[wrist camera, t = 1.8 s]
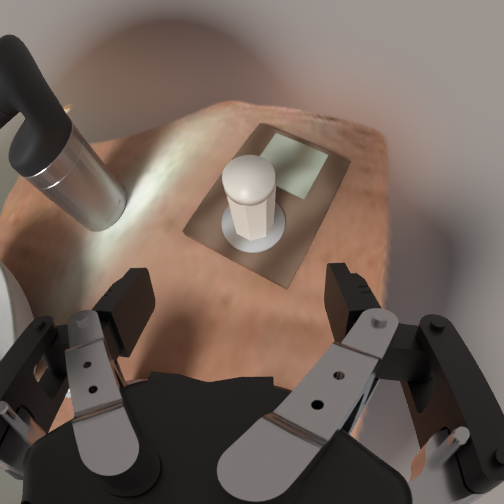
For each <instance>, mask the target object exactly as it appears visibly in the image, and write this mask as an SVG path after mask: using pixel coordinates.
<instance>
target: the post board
mask: <svg viewBox="0 0 504 504" xmlns="http://www.w3.org/2000/svg"><path fill="white" fill-rule="evenodd" d="M243 155H256V156H260V157H262V158H264V159H266V160H267V161H268V162H269V163H270V164H271V165H272V166H273V168H274V171H275V185H276V193H275V211H274V224H273V226H272V227H271V229H270V231H269V232H268V234H267V236H266V237H262V238H259V239H255V240H252V241H250V240H248V239H246V238H244V237H242V236H240V235H238V234H237V233H236V229H235V226H234V222H233V219H232V215H231V211H230V207H229V203H228V199H227V195H226V193H225V190H224V186H223V182H222V174H221V175H220V177H219V178H218V180H217V181H216V182H215V184H214V185H213V187H212V188H211V190H210V191H209V192H208V194H207V195H206V197H205V198H204V200H203V201H202V202H201V204H200V205H199V207H198V208H197V210H196V211H195V213H194V214H193V216H192V217H191V219H190V220H189V222H188V223H187V225H186V226H185V228H184V229H183V232H184V234H185V235H186V236H188V237H190V238H192V239H194V240H195V241H197V242H199V243H201V244H203V245H205V246H206V247H208V248H210V249H212V250H214V251H216V252H217V253H219V254H221V255H223V256H225V257H227V258H229V259H230V260H232V261H234V262H236V263H238V264H240V265H242V266H243V267H245V268H247V269H249V270H251V271H253V272H255V273H257V274H258V275H260V276H262V277H264V278H266V279H268V280H270V281H272V282H274V283H275V284H277V285H279V286H281V287H283V288H285V289H288V287H289V285H290V283H291V281H292V279H293V277H294V276H295V274H296V272H297V270H298V268H299V266H300V264H301V262H302V260H303V258H304V256H305V255H306V253H307V251H308V249H309V247H310V245H311V243H312V241H313V239H314V237H315V235H316V233H317V231H318V229H319V227H320V225H321V223H322V221H323V219H324V217H325V215H326V213H327V211H328V209H329V207H330V205H331V202H332V200H333V198H334V196H335V194H336V192H337V190H338V188H339V186H340V184H341V181H342V179H343V177H344V175H345V173H346V171H347V169H348V166H349V164H350V162H351V161H349V160H347V159H344V158H342V157H340V156H338V155H336V154H334V153H332V152H329V151H327V150H325V149H323V148H321V147H318V146H316V145H314V144H311V143H309V142H307V141H304V140H302V139H299V138H297V137H295V136H292V135H290V134H287V133H285V132H282V131H279V130H277V129H274V128H272V127H269V126H266V125H263V124H261V123H260V124H259V125H258V126H257V127H256V129H255V130H254V131H253V133H252V134H251V135H250V136H249V138H248V139H247V140H246V142H245V143H244V144H243V146H242V147H241V148H240V150H239V151H238V152H237V154H236V155H235V156H234V158H233V159H235V158H237V157H239V156H243ZM233 159H232V160H233ZM232 160H231V161H232Z"/></svg>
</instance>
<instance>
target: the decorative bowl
mask: <svg viewBox="0 0 504 504" xmlns="http://www.w3.org/2000/svg"><path fill="white" fill-rule="evenodd" d="M33 320H34V317H33V314H32V311H31V308H30V305H29V303H28V300H27V298H26V296H25V294H24V292H23V290H22V288H21V286H20V285H19V283H18V281H17V280H16V278H15V277H14V276H13V274H12V273H11V272H10V270H9V269H8V268H7V267H6V266H5V265H4V263H3V262H2V261H1V260H0V361H1V360H2V358H3V357H4V356H5V354H6V353H7V352H8V350H9V349H10V348H11V346H12V345H13V344H14V343H15V341H16V340H17V339H18V338H19V336H20V335H21V334H22V333H23V331H24V330H25V329H26V328H27V326H28V325H29V324H30V323H31V322H32V321H33ZM36 365H37V364H36ZM35 371H36V366H35V368H34V375H35Z"/></svg>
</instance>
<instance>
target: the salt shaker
mask: <svg viewBox="0 0 504 504" xmlns="http://www.w3.org/2000/svg"><path fill="white" fill-rule="evenodd" d="M222 182H223V186H224V190H225V193H226V195H227V199H228V203H229V207H230V211H231V215H232V219H233V222H234V226H235V229H236V233H237V234H238V235H240V236H242V237H244V238H246V239H248V240H250V241H252V240H255V239H259V238H262V237H266V236H267V234H268V232H269V231H270V229H271V227H272V226H273V224H274V211H275V193H276V185H275V171H274V168H273V166H272V165H271V164H270V163H269V162H268V161H267V160H266V159H264V158H262V157H260V156H256V155H243V156H239V157H237V158H235V159H233V160H232V161H230V162H229V163H228V164H227V165H226V167H225V168H224V170H223V173H222Z"/></svg>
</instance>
